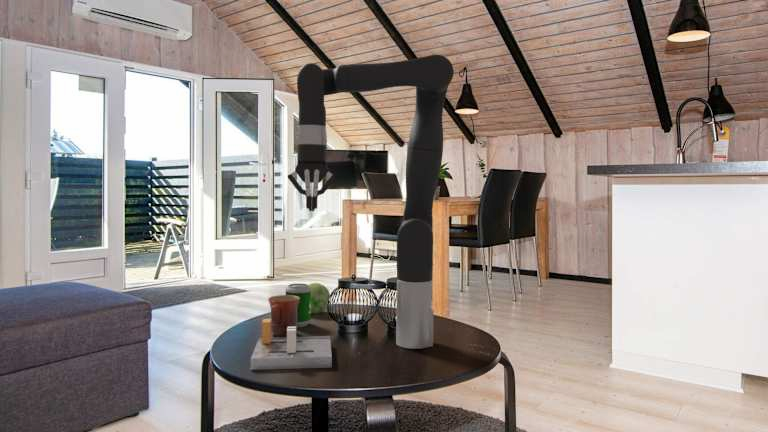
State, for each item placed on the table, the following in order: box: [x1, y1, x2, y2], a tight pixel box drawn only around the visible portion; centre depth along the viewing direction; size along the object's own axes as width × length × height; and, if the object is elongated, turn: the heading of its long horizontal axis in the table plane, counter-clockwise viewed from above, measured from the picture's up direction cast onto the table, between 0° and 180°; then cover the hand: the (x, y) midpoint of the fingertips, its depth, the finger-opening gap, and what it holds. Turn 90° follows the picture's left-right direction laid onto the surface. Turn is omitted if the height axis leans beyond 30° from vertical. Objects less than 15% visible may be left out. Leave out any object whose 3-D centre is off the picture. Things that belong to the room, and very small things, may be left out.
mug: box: [267, 294, 300, 337], centre depth 143 cm, size 12×9×10 cm
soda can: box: [285, 283, 312, 328], centre depth 155 cm, size 8×8×12 cm
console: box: [250, 335, 333, 371], centre depth 125 cm, size 18×17×3 cm
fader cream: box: [287, 326, 297, 353], centre depth 121 cm, size 2×4×5 cm, turn 7°
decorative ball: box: [307, 282, 331, 314], centre depth 171 cm, size 10×10×10 cm
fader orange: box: [261, 318, 272, 344], centre depth 128 cm, size 2×4×5 cm, turn 7°
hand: (311, 210), depth 135 cm, fingers closed
